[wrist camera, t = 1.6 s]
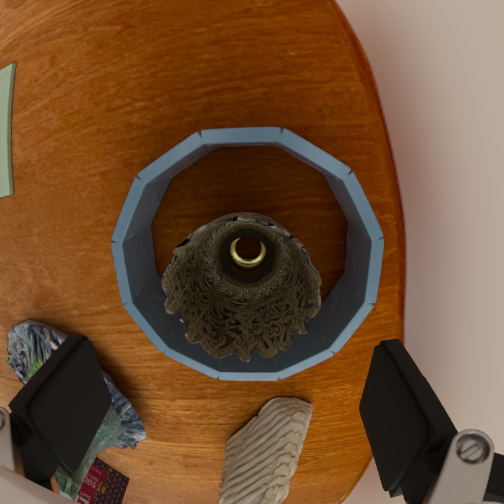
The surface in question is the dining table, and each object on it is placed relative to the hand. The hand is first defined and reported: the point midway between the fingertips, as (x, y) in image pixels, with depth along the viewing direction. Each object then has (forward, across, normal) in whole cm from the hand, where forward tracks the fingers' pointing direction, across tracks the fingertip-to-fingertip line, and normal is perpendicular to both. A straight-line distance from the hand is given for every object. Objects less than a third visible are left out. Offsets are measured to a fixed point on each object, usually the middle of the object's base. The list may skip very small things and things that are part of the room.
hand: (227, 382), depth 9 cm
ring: (+13, 0, 0) cm, 13 cm away
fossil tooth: (+14, -1, +20) cm, 25 cm away
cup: (+13, 0, 0) cm, 13 cm away
